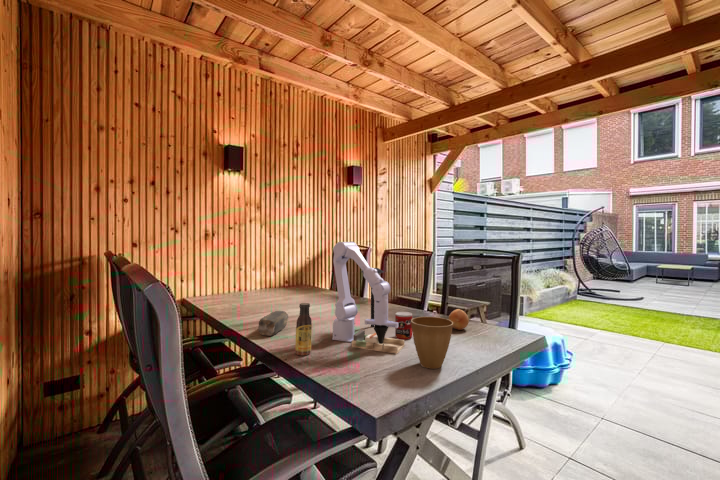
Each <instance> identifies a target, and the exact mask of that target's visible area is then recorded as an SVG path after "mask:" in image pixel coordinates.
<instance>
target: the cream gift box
mask: <svg viewBox="0 0 720 480" xmlns="http://www.w3.org/2000/svg"><path fill="white" fill-rule="evenodd" d="M367 335H368V336H366V337H365V342H370V343H377V344H379V340H378V337H377V334H376V332H374V333H372V334H371V333H370V334H367Z"/></svg>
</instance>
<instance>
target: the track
mask: <svg viewBox="0 0 720 480" xmlns="http://www.w3.org/2000/svg"><path fill="white" fill-rule="evenodd" d="M368 335H369V334H366V331H365V330H364V329H361V330H359V331H358V332H356V333H354V335H353V340H352V341H351V347H352V348H357V349H363V350H369V351H378V352H383V353H389V354H396V355H397V354H398V353H399V352H401V351H402V350H403V348H405V345H406V344H405V342H406V340H401V339H397V338H391V337H386V336H385V337H384V342H383V343H382V344H377V343H370V342H365V337H366V336H368Z"/></svg>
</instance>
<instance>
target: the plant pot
mask: <svg viewBox="0 0 720 480" xmlns="http://www.w3.org/2000/svg"><path fill="white" fill-rule="evenodd" d="M411 325H412V338H413V343H414V347H415V351H416V355H417V357H418V359H419V360H418V361H419V363H420V366H421V367H424V368H427V369H433V370H436V369H440V368H441V367H442V366H443V364H444V361H445V359H446V356H447V352H448V350H449V345H450V343H451V338H452V333H453V329H454V328H453V322H452V321H450V320H448V318H444V317H439V316H438V317H437V316H418V317H417V316H416V317H412V320H411Z"/></svg>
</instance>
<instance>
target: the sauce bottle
mask: <svg viewBox="0 0 720 480" xmlns="http://www.w3.org/2000/svg"><path fill="white" fill-rule="evenodd" d="M310 308H311V304H310V303H309V302H300V303H299V315H298V317H297V319H296V324H295V325H296V327H295V347H294V350H295V354H296V355H297V356H302V357H303V356H308V355H310V354H311V351H312V333H313V332H312V331H313V325H312V324H313V323H312V318H311V316H310Z"/></svg>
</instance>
